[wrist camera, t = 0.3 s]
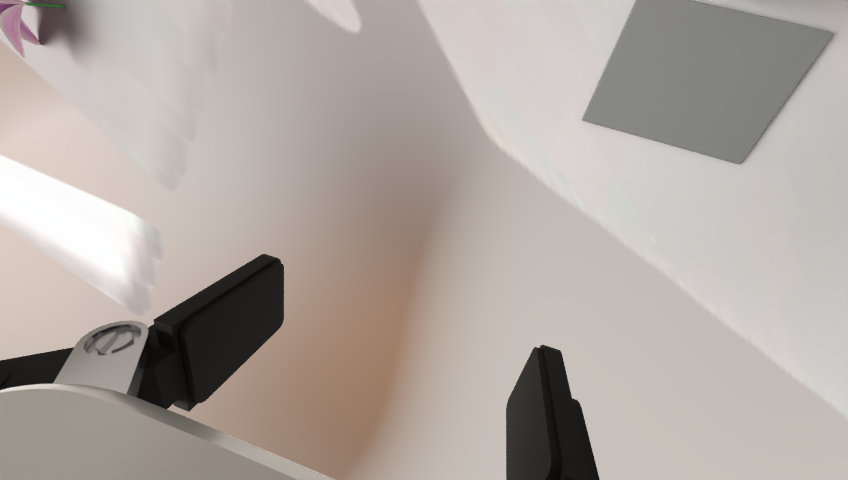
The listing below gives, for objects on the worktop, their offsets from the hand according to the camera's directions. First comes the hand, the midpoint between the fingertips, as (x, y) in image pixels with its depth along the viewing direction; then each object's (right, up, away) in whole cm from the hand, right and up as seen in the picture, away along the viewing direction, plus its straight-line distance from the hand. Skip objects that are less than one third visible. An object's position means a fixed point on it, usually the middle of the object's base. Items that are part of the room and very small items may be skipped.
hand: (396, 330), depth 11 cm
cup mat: (+27, +19, +19) cm, 38 cm away
